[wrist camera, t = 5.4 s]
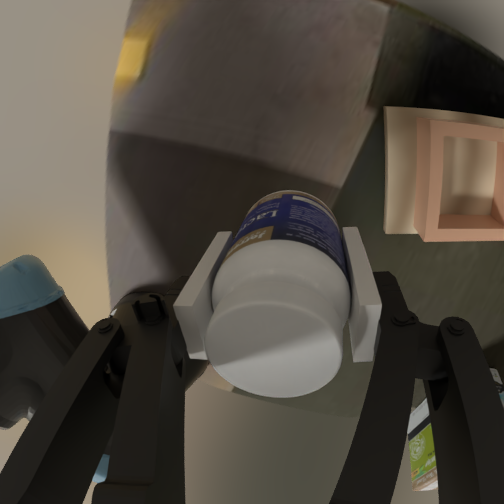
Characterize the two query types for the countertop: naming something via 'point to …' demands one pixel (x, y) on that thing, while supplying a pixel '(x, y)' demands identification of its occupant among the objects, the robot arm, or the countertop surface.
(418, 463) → the tea box
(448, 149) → the board
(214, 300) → the pill bottle
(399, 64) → the countertop surface
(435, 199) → the well
